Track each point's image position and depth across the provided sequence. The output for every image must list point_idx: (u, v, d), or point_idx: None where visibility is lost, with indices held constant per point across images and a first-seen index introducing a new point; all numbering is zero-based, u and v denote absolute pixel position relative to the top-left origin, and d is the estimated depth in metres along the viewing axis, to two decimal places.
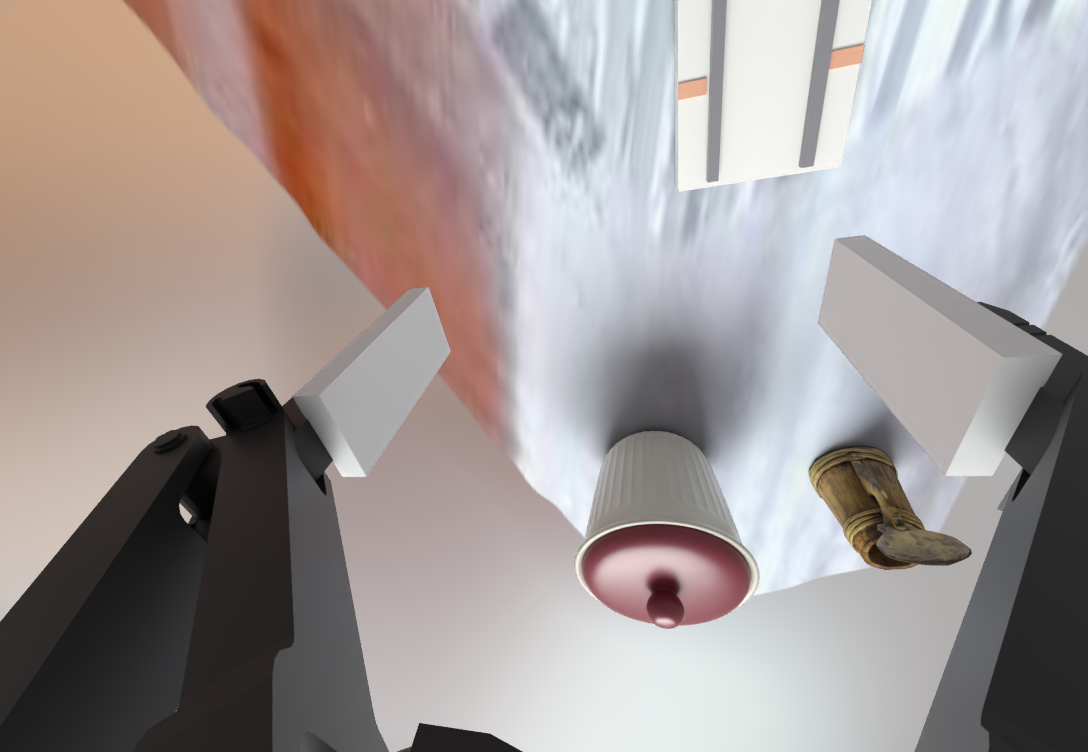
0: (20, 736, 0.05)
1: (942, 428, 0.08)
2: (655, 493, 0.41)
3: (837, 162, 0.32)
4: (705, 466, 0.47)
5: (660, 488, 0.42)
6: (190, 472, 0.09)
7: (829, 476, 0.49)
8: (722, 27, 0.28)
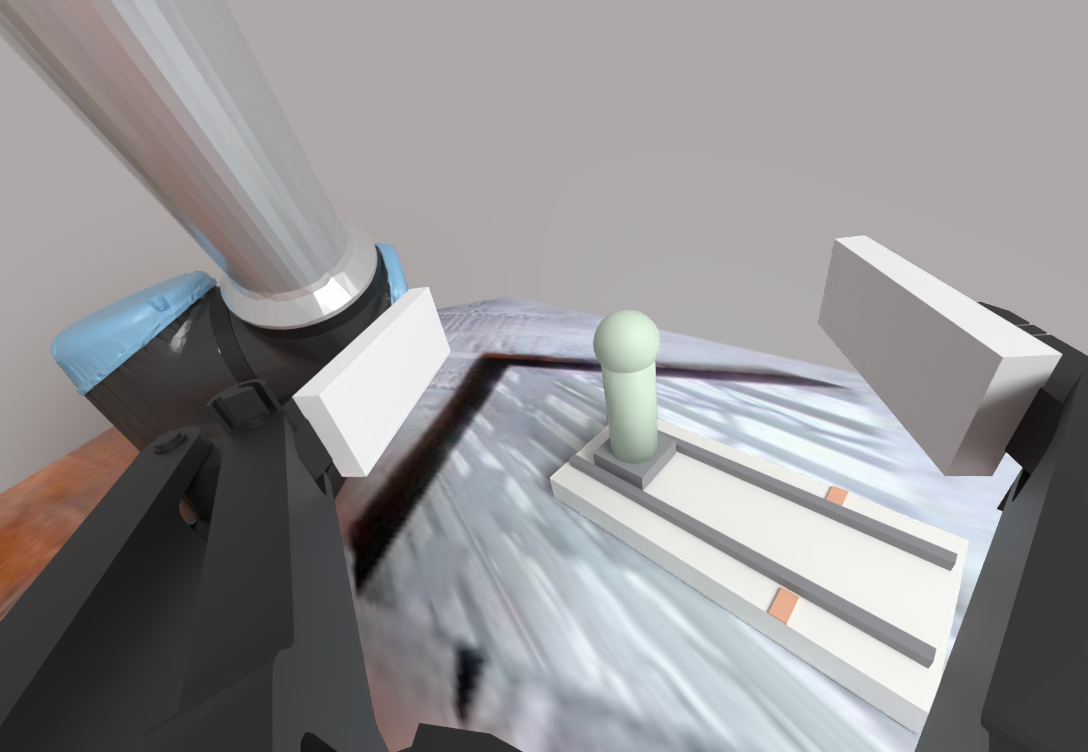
0: (20, 736, 0.05)
1: (942, 428, 0.08)
2: None
3: (961, 541, 0.26)
4: None
5: None
6: (190, 472, 0.09)
7: None
8: (744, 547, 0.28)
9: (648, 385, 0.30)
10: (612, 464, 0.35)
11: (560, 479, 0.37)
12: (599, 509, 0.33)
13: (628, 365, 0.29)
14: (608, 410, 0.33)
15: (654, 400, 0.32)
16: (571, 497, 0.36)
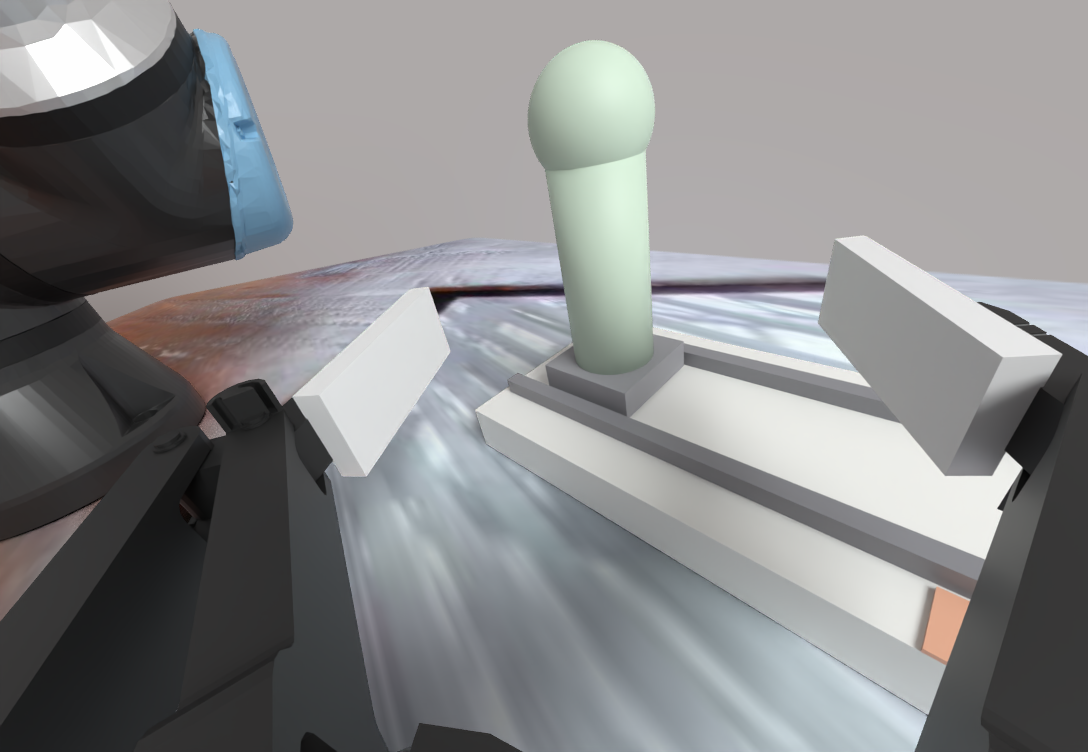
0: (20, 736, 0.05)
1: (942, 428, 0.08)
2: None
3: None
4: None
5: None
6: (190, 472, 0.09)
7: None
8: (836, 504, 0.13)
9: (632, 202, 0.16)
10: (575, 379, 0.20)
11: (491, 411, 0.22)
12: (550, 452, 0.19)
13: (591, 139, 0.14)
14: (564, 273, 0.18)
15: (645, 245, 0.17)
16: (508, 439, 0.21)
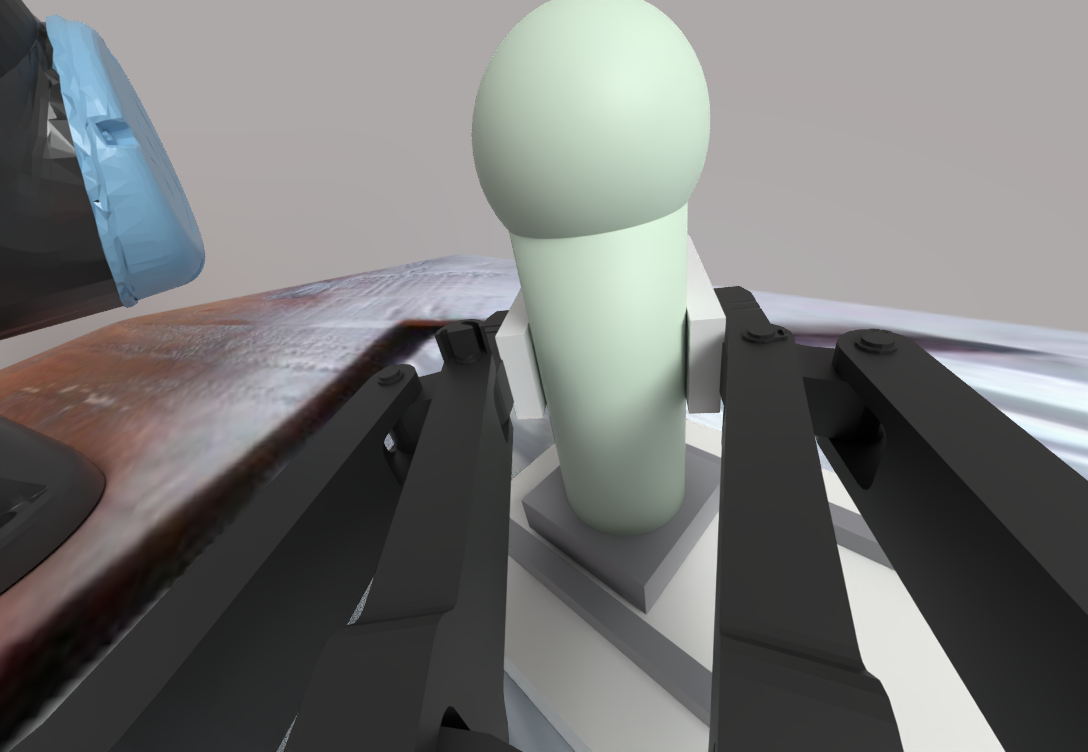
0: (228, 632, 0.05)
1: (687, 378, 0.11)
2: None
3: None
4: None
5: None
6: (398, 412, 0.09)
7: None
8: None
9: (664, 294, 0.09)
10: (565, 535, 0.13)
11: None
12: (522, 674, 0.12)
13: (589, 189, 0.07)
14: (545, 388, 0.11)
15: (682, 354, 0.10)
16: None
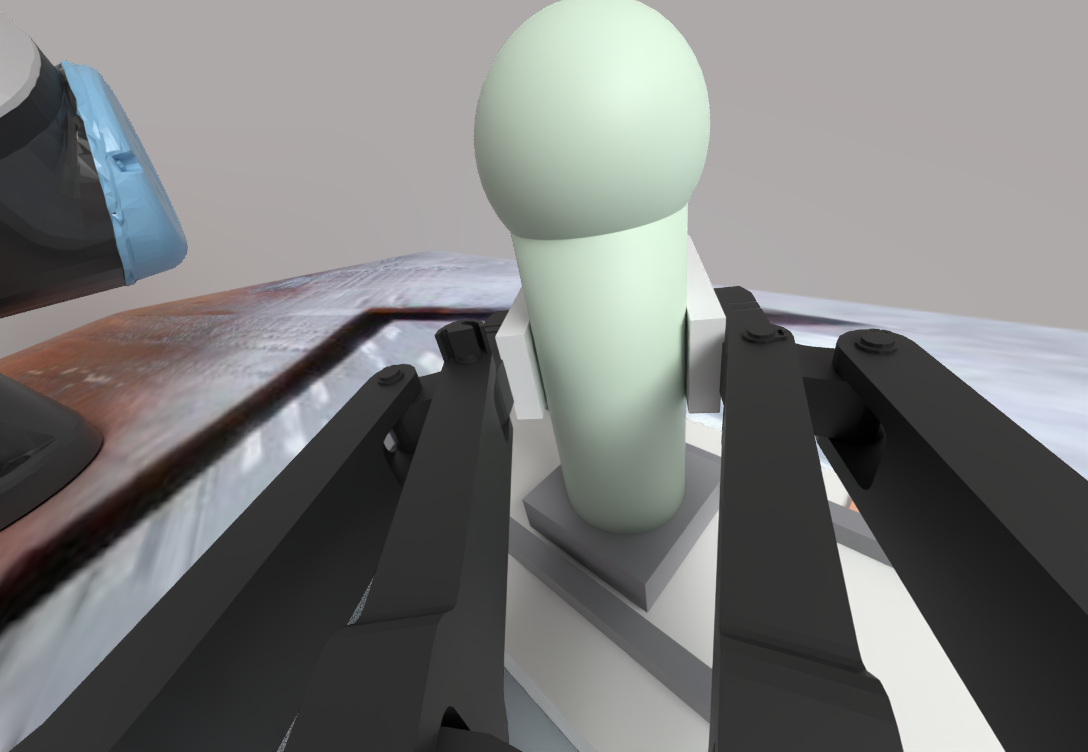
0: (228, 632, 0.05)
1: (687, 378, 0.11)
2: None
3: None
4: None
5: None
6: (398, 412, 0.09)
7: None
8: (654, 633, 0.11)
9: (664, 294, 0.09)
10: (566, 534, 0.13)
11: None
12: None
13: (591, 190, 0.07)
14: (546, 388, 0.11)
15: (682, 353, 0.10)
16: None
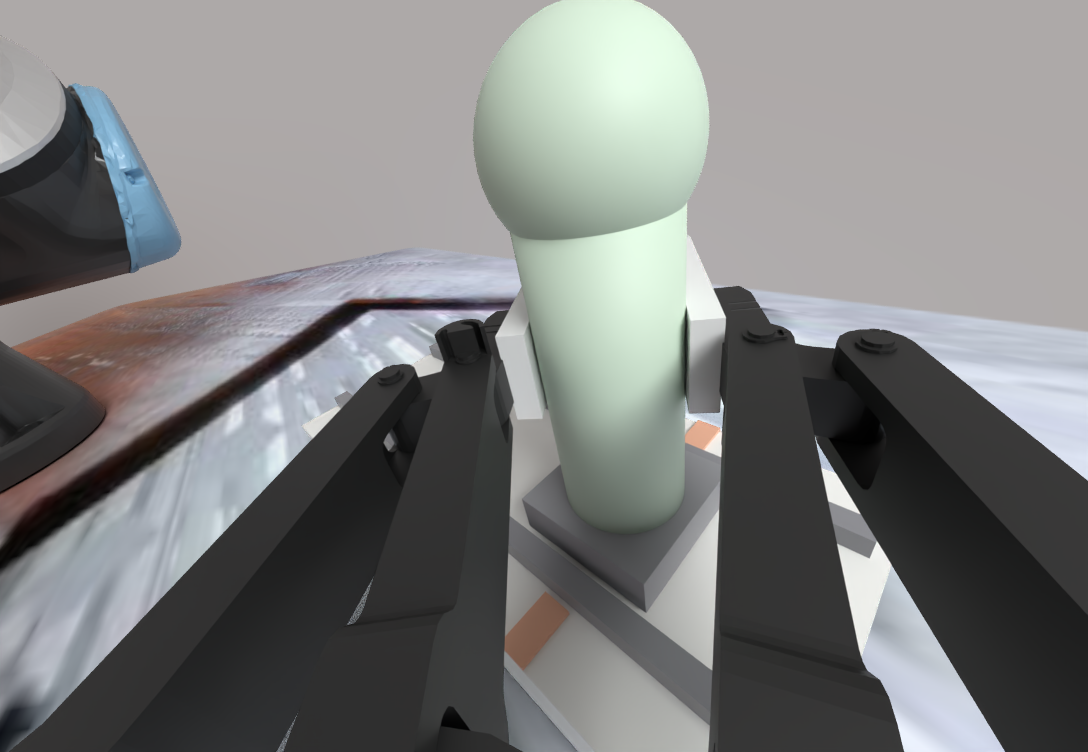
0: (228, 632, 0.05)
1: (687, 378, 0.11)
2: None
3: None
4: None
5: None
6: (398, 412, 0.09)
7: None
8: None
9: (663, 294, 0.09)
10: (566, 534, 0.13)
11: (314, 427, 0.24)
12: None
13: (590, 190, 0.07)
14: (545, 388, 0.11)
15: (681, 354, 0.10)
16: None
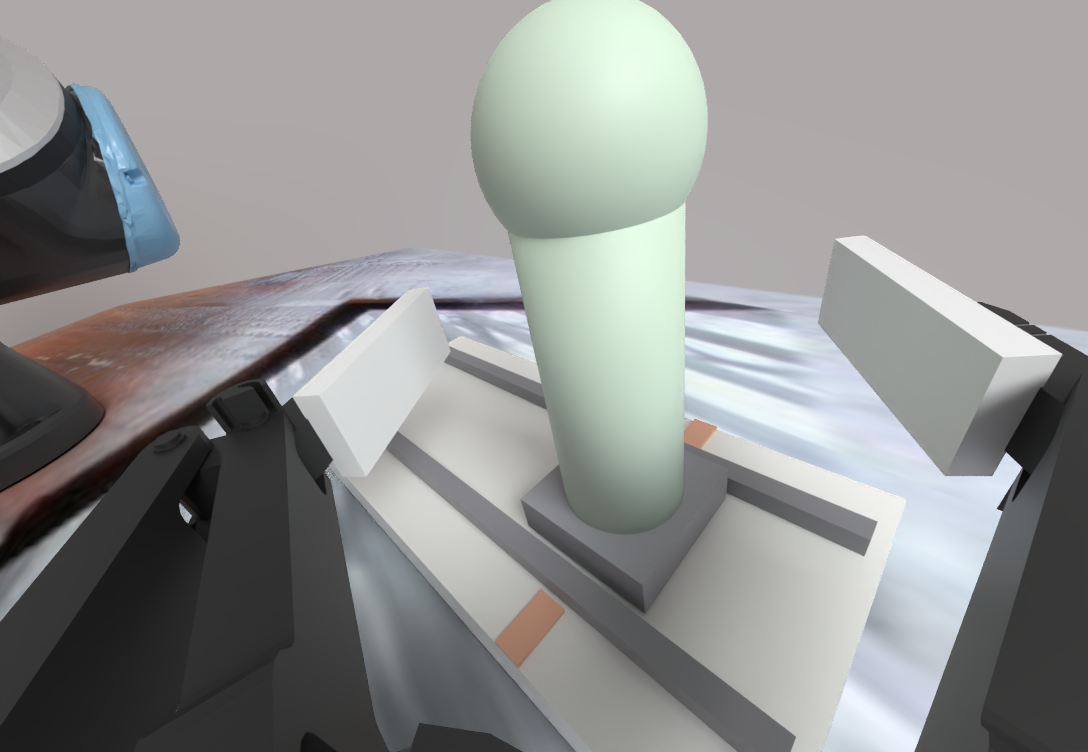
0: (20, 736, 0.05)
1: (942, 428, 0.08)
2: None
3: (892, 500, 0.14)
4: None
5: None
6: (190, 472, 0.09)
7: None
8: (502, 517, 0.15)
9: (662, 293, 0.09)
10: (564, 533, 0.13)
11: None
12: None
13: (587, 188, 0.07)
14: (544, 387, 0.11)
15: (680, 353, 0.10)
16: None
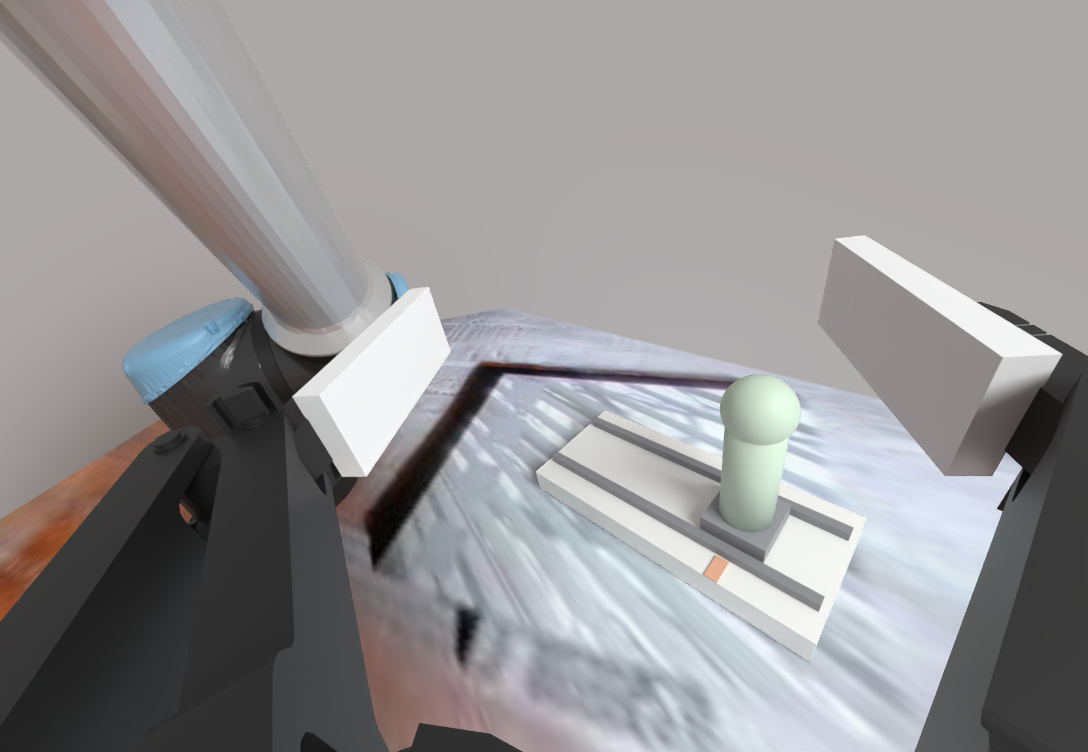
0: (20, 736, 0.05)
1: (942, 428, 0.08)
2: None
3: (860, 518, 0.33)
4: None
5: None
6: (190, 472, 0.09)
7: None
8: (689, 525, 0.34)
9: (782, 456, 0.28)
10: (725, 532, 0.32)
11: (544, 472, 0.43)
12: (576, 497, 0.40)
13: (770, 438, 0.26)
14: (728, 477, 0.30)
15: (782, 469, 0.29)
16: (553, 487, 0.42)
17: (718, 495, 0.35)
